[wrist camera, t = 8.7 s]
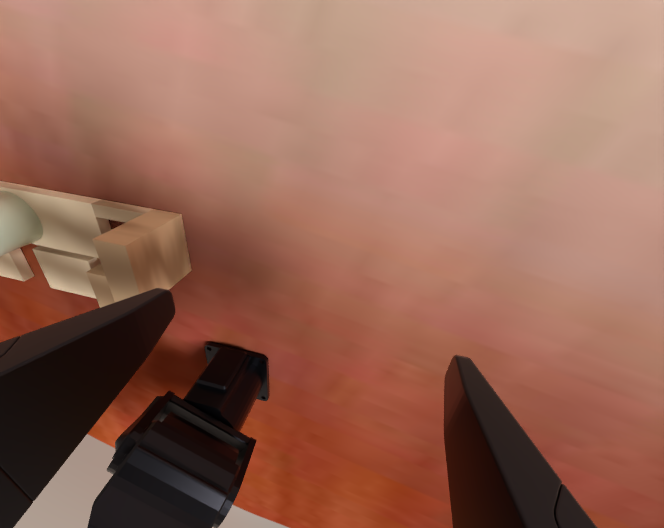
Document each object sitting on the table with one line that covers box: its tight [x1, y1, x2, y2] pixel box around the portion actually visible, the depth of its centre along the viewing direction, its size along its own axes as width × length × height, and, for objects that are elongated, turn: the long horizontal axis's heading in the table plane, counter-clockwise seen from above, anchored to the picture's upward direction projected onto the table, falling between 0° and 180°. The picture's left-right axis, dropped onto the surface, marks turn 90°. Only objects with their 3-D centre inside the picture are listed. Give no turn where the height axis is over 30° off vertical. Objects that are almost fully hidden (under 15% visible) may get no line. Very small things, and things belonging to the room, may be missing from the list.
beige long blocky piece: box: [0, 181, 192, 302], centre depth 24 cm, size 5×19×6 cm, turn 85°
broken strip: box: [0, 246, 115, 308], centre depth 29 cm, size 4×23×2 cm, turn 85°
